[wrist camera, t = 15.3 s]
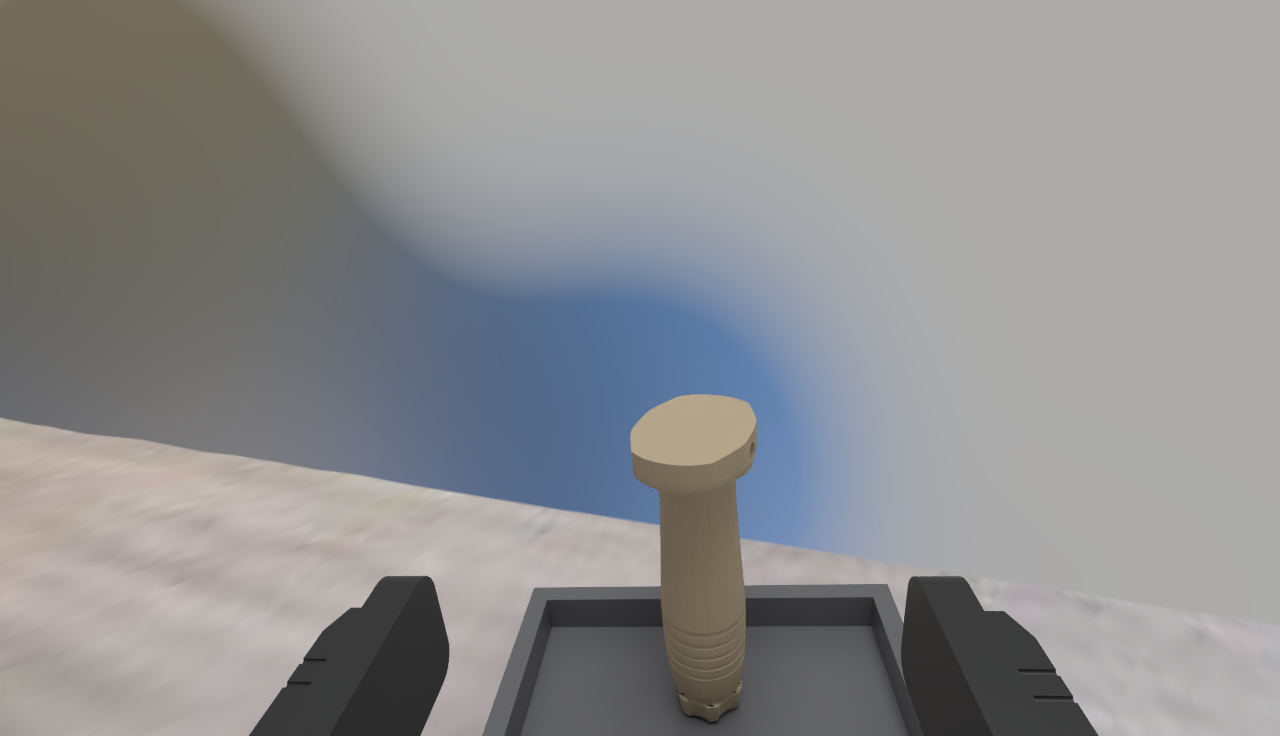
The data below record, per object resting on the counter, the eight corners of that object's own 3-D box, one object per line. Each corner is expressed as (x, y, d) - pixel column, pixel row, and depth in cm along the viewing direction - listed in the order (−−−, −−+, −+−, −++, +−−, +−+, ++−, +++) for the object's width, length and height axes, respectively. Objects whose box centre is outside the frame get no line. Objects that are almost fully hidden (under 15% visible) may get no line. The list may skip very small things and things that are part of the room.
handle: (638, 737, 29) (607, 455, 24) (683, 638, 35) (666, 390, 29) (739, 771, 27) (730, 473, 22) (770, 660, 33) (769, 400, 27)
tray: (483, 815, 28) (470, 768, 26) (541, 627, 38) (534, 587, 37) (958, 831, 25) (966, 780, 24) (884, 626, 35) (887, 583, 34)
